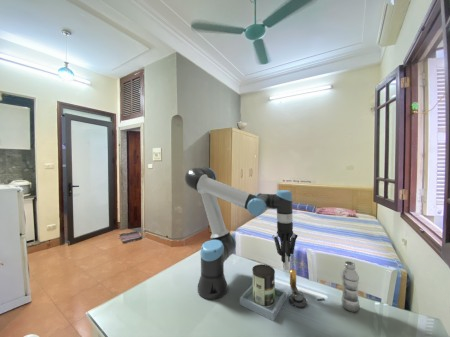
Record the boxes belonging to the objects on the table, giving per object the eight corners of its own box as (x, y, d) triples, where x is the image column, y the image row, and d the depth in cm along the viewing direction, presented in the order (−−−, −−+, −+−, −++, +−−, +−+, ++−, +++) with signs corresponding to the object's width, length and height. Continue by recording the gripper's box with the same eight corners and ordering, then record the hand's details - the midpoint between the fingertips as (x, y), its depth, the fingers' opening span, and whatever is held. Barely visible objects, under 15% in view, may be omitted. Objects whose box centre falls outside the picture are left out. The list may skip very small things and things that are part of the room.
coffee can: (274, 293, 91) (274, 265, 91) (275, 309, 81) (275, 277, 81) (253, 291, 93) (252, 263, 93) (251, 306, 83) (251, 274, 83)
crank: (304, 302, 84) (304, 283, 84) (293, 302, 85) (293, 283, 85) (297, 285, 96) (297, 269, 96) (287, 285, 97) (287, 268, 96)
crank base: (286, 303, 86) (286, 300, 86) (291, 293, 92) (291, 291, 92) (304, 310, 81) (304, 308, 81) (308, 300, 88) (308, 297, 88)
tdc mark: (317, 300, 87) (317, 300, 87) (316, 299, 88) (316, 298, 88) (325, 300, 88) (325, 299, 88) (323, 298, 89) (323, 298, 89)
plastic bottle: (360, 316, 78) (360, 268, 78) (341, 310, 81) (340, 264, 81) (359, 306, 83) (358, 262, 83) (341, 301, 87) (341, 258, 87)
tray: (239, 304, 85) (239, 297, 85) (255, 286, 98) (255, 280, 98) (273, 321, 76) (273, 313, 76) (286, 298, 89) (286, 292, 89)
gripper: (276, 224, 89) (277, 274, 89) (300, 222, 92) (301, 270, 92) (269, 220, 96) (270, 266, 96) (292, 218, 99) (293, 263, 99)
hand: (285, 268), depth 94 cm, fingers closed
